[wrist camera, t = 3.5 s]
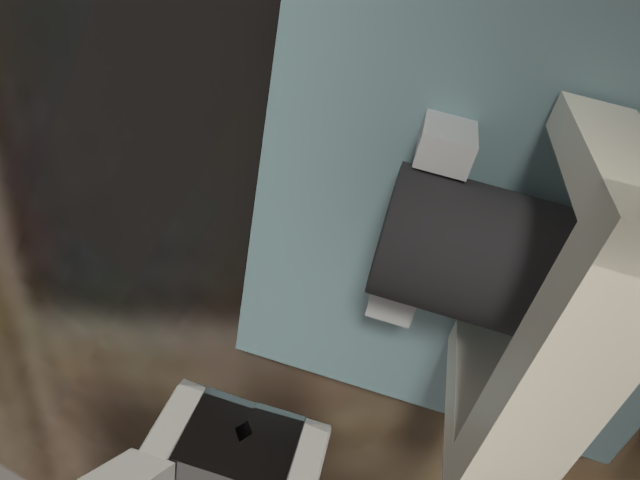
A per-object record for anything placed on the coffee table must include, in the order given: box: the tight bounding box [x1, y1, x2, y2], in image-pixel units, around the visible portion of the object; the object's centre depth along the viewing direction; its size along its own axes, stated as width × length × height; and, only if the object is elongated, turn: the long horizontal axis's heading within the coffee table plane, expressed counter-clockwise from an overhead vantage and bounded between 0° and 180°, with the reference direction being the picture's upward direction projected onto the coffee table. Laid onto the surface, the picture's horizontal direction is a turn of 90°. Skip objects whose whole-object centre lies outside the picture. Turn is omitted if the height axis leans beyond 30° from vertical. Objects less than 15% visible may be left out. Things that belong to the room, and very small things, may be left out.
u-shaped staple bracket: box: [442, 91, 640, 480], centre depth 14 cm, size 10×2×7 cm, turn 169°
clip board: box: [236, 0, 640, 465], centre depth 17 cm, size 18×16×3 cm
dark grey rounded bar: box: [365, 161, 577, 336], centre depth 15 cm, size 4×9×4 cm, turn 79°
